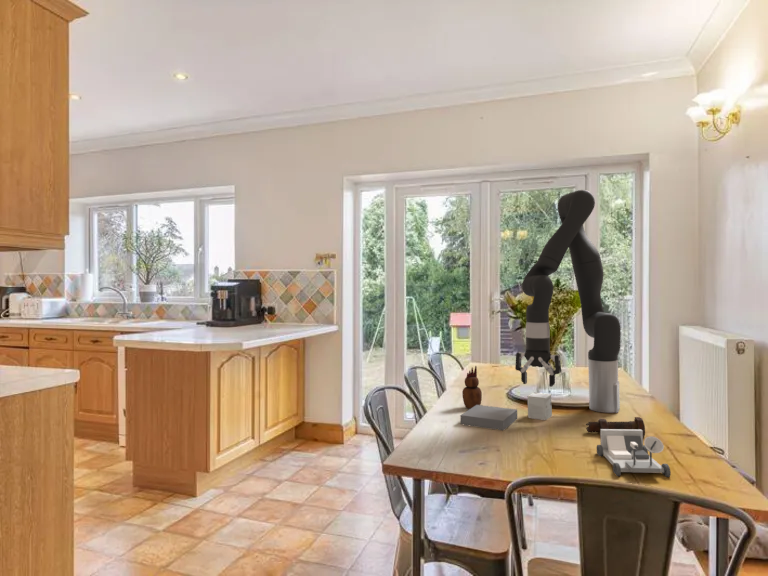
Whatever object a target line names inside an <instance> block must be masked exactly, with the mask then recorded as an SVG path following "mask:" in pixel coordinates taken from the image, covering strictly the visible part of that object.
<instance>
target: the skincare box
mask: <svg viewBox="0 0 768 576" xmlns="http://www.w3.org/2000/svg"><path fill="white" fill-rule="evenodd" d="M552 405H553V404H552V394H550V393H544V392H543V393H541V392H533V393H530V394H529V395H527V418H528V419H533V420H534V419H535V420H541V421H547V420H548V419H550V418H552V416H553V411H552Z"/></svg>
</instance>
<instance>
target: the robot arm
mask: <svg viewBox="0 0 768 576" xmlns="http://www.w3.org/2000/svg"><path fill="white" fill-rule="evenodd" d="M595 201H596V200H595V197H594V195H593V193H592V192H591V191H589V190H586V189H579V190H574V191H572V192H569V193H566V194H564V195H562V196H561V197H560V198H559V200H558V202H557V212H558V215H559V216H558V217H559V219H560V222H561V225H560V226H559V227H558V229H557V230H556V231H554V233H553V235H551V237H550V238H549V239H548V241H547V242H546V244H545V245H544V247H543V249H542V250H541V252H540V255H539V257H538V259H537V261H536V262H535V264H533V265H532V267H531V268H530V270H529V271H528V272H527V273H526V275H525V276H524V278H523V280H522V285H521V287H522V288H521V289H522V292H523V293H524V294H525V295H526V296H528V297H533V300H532V303H531V304H528V305H527V307H526V324H525V352H522V351H518V352H516V354H515V367H514V368H515V369H514V370H516V371H518V372H520V374H521V375H520V378H521V379H520V381H521V382H522V384H523V385H526V384H527V383H528V372H527V370H528V369H530V367H532V368H533V367H538V368H544V369H545V370H546V371H547V372H548V374H549V378H548V380H549V385H548V387H551V388H552V387H553V386H555V384H556V375H559V374H560V373H561V372H562V366H561V365H562V364H561V354H551V351H550V350H551V347H550V346H551V345H550V342H551V341H550V339H551V337H550V336H551V335H550V333H551V332H550V323H549V319H550V318H549V315H550V314H549V311H550V310H549V309H550V306H551V302H552V298H553V294H554V284H553V283H554V282H553V281H552V279H551V278H550V277H549V276H551V275H552V274H555V273H556V272H557V271H558V269H559V268H560V265H561V263H562V261H563V259H564V258H565V256H566V253H567V251H569V254H570V260H571V265H572V269H573V275H574V277H575V278H574V279H575V281H576V287H577V292H578V297H579V301H580V309H581V318H582V319H581V321H582V325H583V329H584V331H585V333H586V334H587V335H588V336H589V337H591V338H593V347H592V348H591V349H589V350H588V352H587V359H588V360H587V362H588V363H587V364H588V397H589V401H588V402H589V403H588V405H589V410H590V411H593V412H597V413H598V412H599V413H606V414H608V413H609V414H610V413H619V411H620V409H621V406H620V405H621V404H620V403H621V402H620V399H621V398H620V397H621V395H620V381H619V359H618V357H619V353H620V351H621V336H622V335H621V333H622V332H621V322H620V321H619V318H618V317H617V316H616V315H614V314H613V313H609V312H608V313H607V312H605V310H604V307H603V303H602V298H601V297H602V295H601V292H602V286H603V282H604V268H603V262H602V259H601V255H600V252H599V251H598V249H597V247H596V245H594V243H593V242H592V240H591V239H590V238H589V237H588V235H587V233H586V231H585V227H584V224H585V222H587V220H588V218H589V217H590V216H591V214H592V212H593V210H594V208H595V205H596V202H595ZM524 358H525V359H526V361H527V362H526V363H525V364H524V365H523V367H522V360H523V359H524ZM550 360H552V362H554V368H553V367H552V364H551V363H550Z"/></svg>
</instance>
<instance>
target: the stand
mask: <svg viewBox="0 0 768 576" xmlns="http://www.w3.org/2000/svg"><path fill="white" fill-rule="evenodd" d="M459 417H460V418H459V419H460V425H461V424H464V425H463V426H468V425H470V427H476V428H481V429H482V428H484V429H488V430H489V429H491V430H496V429H498V430H497V431H503V430H504V431H505V430H506V429H508V427H509V426H510V425H512V424H513V423H514V422H515V421H516V420H518V409H517V408H509V407H498V406H489V405H482V404H481V405H475V406H474V407H472V408H471V409H469V408H468V410H466V411H464V412H463V413H461V414H460V415H459Z"/></svg>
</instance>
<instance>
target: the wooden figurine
mask: <svg viewBox="0 0 768 576" xmlns="http://www.w3.org/2000/svg"><path fill="white" fill-rule="evenodd" d="M477 368H478V367H477V365H475V366H474V368H473V367H471V370H469V372H467V373H466V377H465V378H464V385H465V387H463V389H462V392H461V394H462V401H463V404H464V406H465V408H466V409H468V410H469V409H471V408H472V407H474V406H475V405H482V397H483V394H482V389H481V388H480V387H479V385H480V384H479V383H480V381H479V378H478V376H477V375H478V374H477V373H478V372H477Z"/></svg>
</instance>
